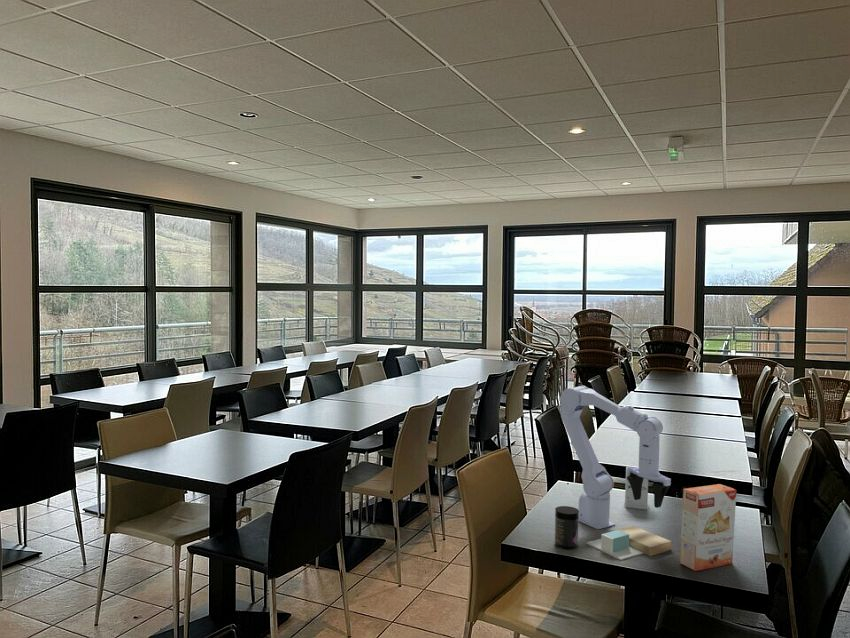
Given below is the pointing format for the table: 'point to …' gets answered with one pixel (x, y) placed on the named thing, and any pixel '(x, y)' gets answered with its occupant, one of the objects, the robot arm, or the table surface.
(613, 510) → the table surface
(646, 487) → the supplement box
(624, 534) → the teal block
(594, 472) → the robot arm
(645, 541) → the oak slab
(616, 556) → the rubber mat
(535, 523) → the table surface
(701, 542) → the cracker box
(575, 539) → the supplement container
